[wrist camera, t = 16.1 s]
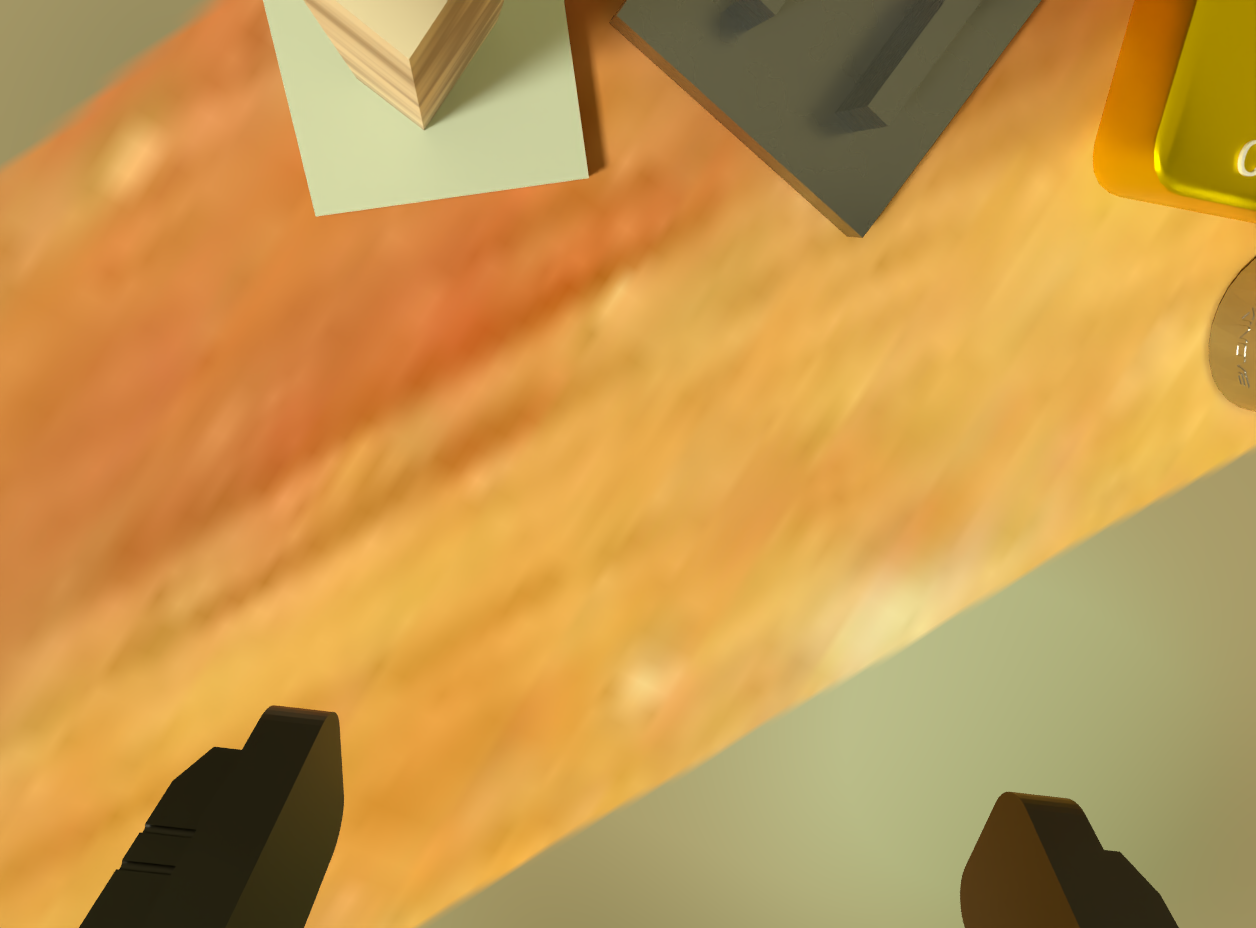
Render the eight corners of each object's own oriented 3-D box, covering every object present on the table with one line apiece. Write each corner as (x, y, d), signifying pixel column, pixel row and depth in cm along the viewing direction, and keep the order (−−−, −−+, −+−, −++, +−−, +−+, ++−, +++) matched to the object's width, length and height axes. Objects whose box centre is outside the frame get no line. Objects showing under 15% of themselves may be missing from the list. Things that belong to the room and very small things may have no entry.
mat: (542, -123, 32) (545, -132, 31) (584, 178, 36) (588, 177, 35) (243, -98, 31) (236, -107, 30) (319, 216, 34) (315, 216, 33)
